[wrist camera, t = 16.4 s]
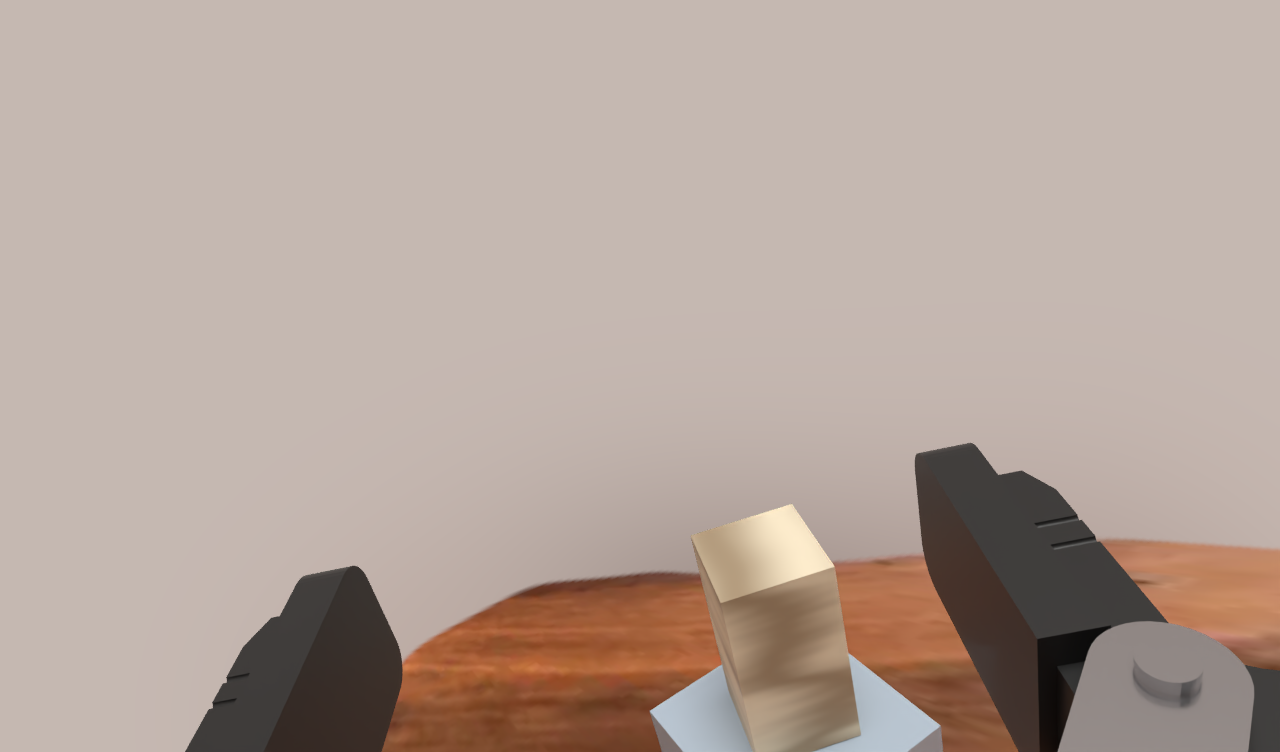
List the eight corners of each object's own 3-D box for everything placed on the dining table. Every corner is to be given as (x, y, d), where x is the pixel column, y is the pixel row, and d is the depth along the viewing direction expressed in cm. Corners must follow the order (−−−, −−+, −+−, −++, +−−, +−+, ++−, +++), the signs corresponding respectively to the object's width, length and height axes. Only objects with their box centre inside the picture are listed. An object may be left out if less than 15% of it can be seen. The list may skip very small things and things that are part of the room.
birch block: (819, 660, 44) (791, 503, 39) (861, 735, 39) (834, 566, 35) (728, 690, 43) (690, 535, 39) (759, 769, 39) (720, 603, 34)
